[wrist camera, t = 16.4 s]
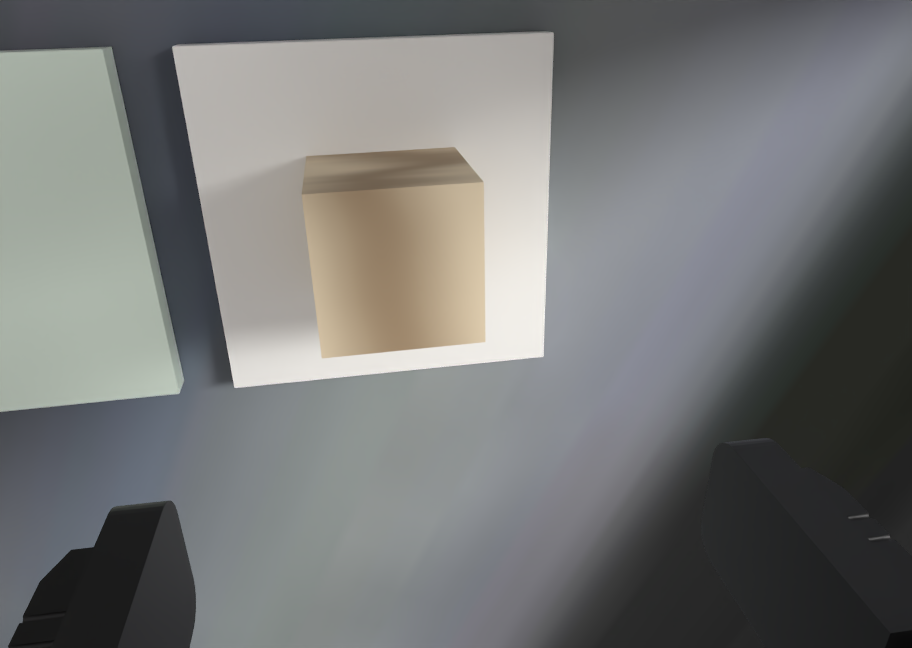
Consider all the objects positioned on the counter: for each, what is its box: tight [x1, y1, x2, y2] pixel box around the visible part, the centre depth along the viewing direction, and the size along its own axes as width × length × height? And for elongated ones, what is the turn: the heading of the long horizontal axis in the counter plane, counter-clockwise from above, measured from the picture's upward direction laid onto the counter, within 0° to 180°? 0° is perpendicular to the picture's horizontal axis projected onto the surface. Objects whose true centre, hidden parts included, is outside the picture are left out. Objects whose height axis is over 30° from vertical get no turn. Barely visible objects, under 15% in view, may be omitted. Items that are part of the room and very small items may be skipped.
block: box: [302, 147, 485, 358], centre depth 23 cm, size 5×5×5 cm
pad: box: [172, 31, 554, 388], centre depth 25 cm, size 12×12×1 cm
